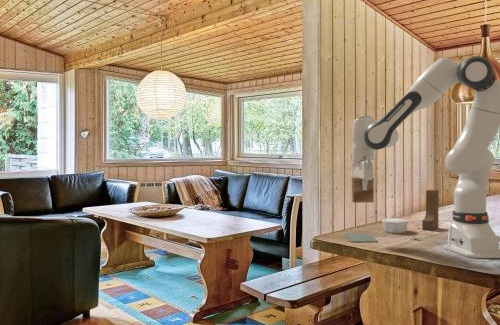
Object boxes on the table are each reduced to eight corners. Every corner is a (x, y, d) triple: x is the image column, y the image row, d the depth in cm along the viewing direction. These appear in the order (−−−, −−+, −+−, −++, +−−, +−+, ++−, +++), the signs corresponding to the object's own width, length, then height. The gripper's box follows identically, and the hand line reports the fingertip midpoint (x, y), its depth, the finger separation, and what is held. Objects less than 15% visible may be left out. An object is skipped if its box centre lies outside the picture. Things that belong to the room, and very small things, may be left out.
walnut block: (373, 202, 184) (373, 178, 184) (353, 202, 185) (353, 178, 184) (371, 201, 188) (371, 177, 188) (351, 201, 189) (351, 177, 188)
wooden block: (431, 230, 206) (432, 191, 205) (421, 229, 209) (422, 191, 208) (438, 227, 212) (438, 189, 212) (428, 226, 215) (429, 189, 215)
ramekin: (391, 234, 199) (391, 222, 199) (377, 230, 210) (377, 218, 209) (413, 233, 202) (413, 221, 202) (398, 228, 213) (398, 217, 212)
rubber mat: (378, 242, 184) (378, 241, 184) (351, 242, 184) (351, 241, 184) (368, 234, 200) (368, 233, 200) (343, 234, 200) (343, 233, 200)
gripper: (377, 156, 175) (377, 192, 176) (364, 155, 196) (364, 186, 196) (360, 156, 175) (360, 192, 176) (350, 155, 196) (350, 187, 196)
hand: (362, 189), depth 186 cm, fingers closed on walnut block, 4 cm apart
